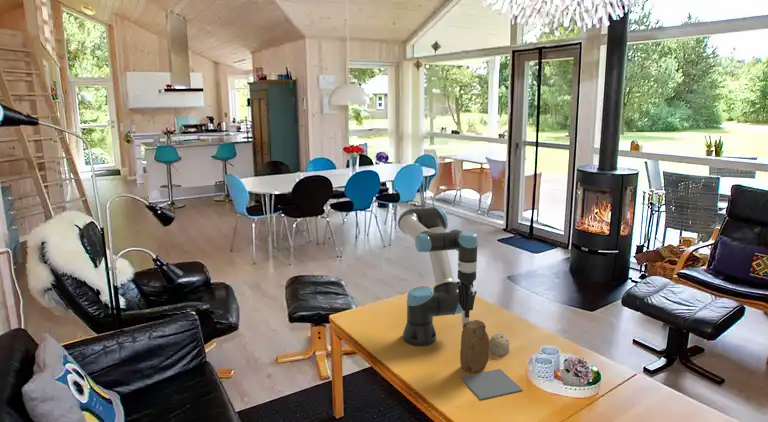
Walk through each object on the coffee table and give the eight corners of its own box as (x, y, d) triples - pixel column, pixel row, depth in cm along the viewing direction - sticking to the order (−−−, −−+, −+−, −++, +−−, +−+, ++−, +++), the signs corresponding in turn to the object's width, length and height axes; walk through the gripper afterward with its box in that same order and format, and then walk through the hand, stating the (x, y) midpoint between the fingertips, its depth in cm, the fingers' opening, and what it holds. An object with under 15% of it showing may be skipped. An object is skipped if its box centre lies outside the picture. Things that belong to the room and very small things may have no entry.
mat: (460, 377, 209) (460, 376, 209) (500, 369, 215) (500, 368, 215) (480, 400, 194) (480, 398, 194) (522, 390, 200) (522, 389, 200)
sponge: (509, 359, 231) (512, 336, 234) (508, 356, 222) (510, 332, 226) (488, 355, 234) (491, 332, 237) (485, 352, 225) (489, 329, 229)
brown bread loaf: (468, 375, 211) (470, 329, 206) (458, 366, 217) (459, 321, 212) (490, 368, 215) (493, 323, 211) (479, 360, 222) (481, 316, 217)
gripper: (451, 266, 220) (450, 318, 226) (466, 276, 208) (464, 331, 214) (467, 264, 223) (465, 316, 228) (483, 274, 211) (480, 328, 216)
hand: (465, 323), depth 221 cm, fingers closed
